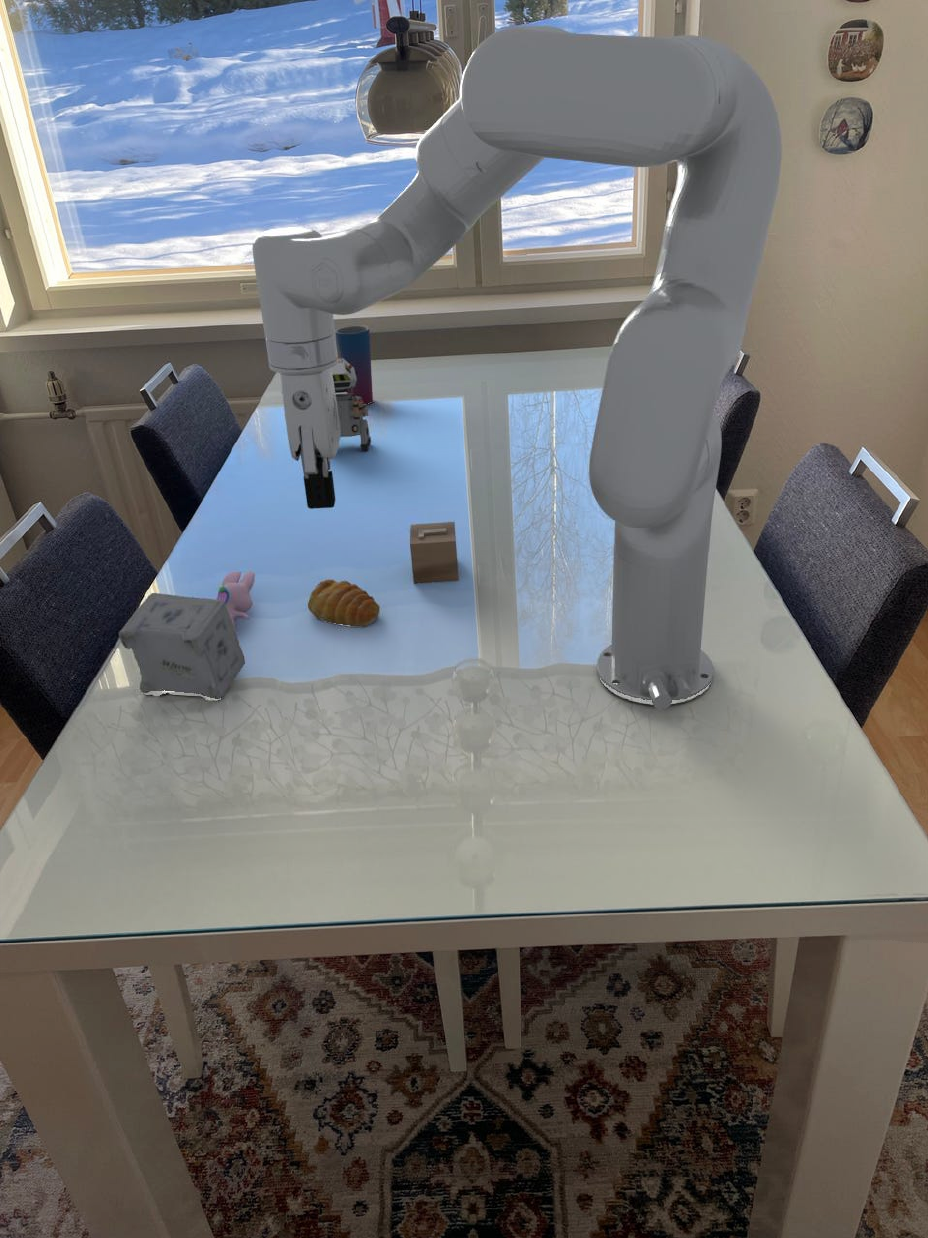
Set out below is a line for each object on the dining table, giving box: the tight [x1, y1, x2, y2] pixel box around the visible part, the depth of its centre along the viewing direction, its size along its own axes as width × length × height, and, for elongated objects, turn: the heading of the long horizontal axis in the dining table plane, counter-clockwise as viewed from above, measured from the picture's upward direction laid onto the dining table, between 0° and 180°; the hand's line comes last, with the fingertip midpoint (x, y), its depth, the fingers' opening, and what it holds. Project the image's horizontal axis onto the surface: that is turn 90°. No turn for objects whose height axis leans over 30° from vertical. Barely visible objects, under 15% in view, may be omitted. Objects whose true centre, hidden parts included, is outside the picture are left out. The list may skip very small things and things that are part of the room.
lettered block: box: [409, 521, 459, 585], centre depth 126 cm, size 6×6×6 cm
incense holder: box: [118, 592, 246, 699], centre depth 105 cm, size 10×8×10 cm
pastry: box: [307, 579, 380, 627], centre depth 118 cm, size 9×7×4 cm
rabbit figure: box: [214, 570, 256, 633], centre depth 119 cm, size 6×6×15 cm
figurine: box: [331, 357, 372, 452], centre depth 170 cm, size 9×12×15 cm
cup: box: [335, 324, 374, 404], centre depth 191 cm, size 7×7×15 cm
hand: (321, 504), depth 112 cm, fingers closed
